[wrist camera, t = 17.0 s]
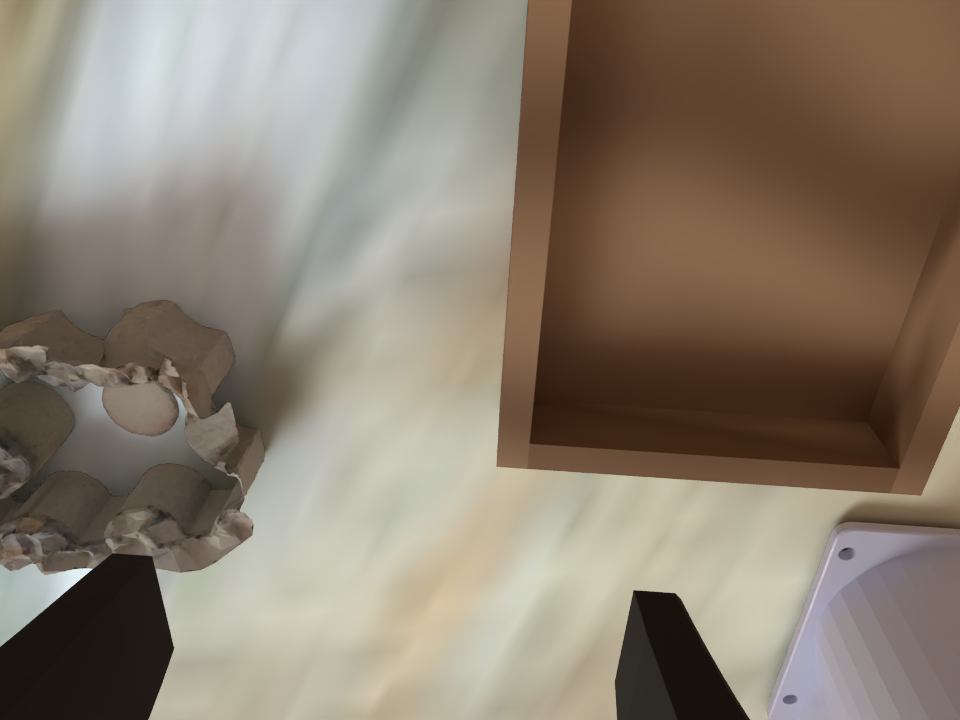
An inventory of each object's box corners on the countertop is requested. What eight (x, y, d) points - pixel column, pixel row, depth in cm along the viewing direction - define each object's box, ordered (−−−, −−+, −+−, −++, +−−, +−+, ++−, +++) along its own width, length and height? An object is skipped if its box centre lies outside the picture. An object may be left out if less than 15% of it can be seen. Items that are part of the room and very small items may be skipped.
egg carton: (234, 286, 21) (175, 359, 17) (286, 497, 24) (247, 593, 21) (-128, 302, 21) (-258, 375, 18) (-25, 504, 25) (-114, 599, 21)
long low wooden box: (942, 441, 21) (1030, 547, 18) (61, 382, 22) (-33, 473, 18) (1264, -304, 13) (1553, -398, 10) (-143, -364, 14) (-388, -475, 10)
